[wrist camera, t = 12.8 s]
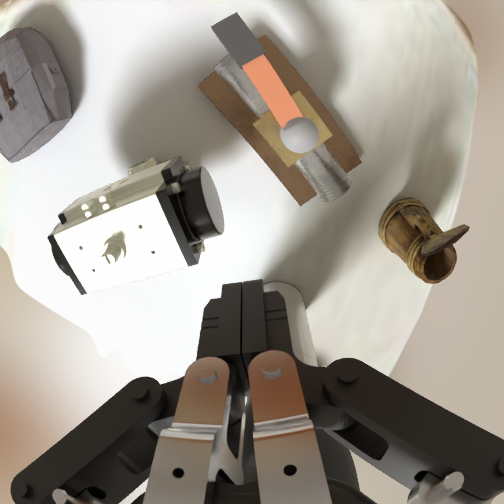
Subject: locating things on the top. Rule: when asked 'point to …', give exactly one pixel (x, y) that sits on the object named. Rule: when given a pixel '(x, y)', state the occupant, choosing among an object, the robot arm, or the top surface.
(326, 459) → the robot arm
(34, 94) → the small grey backpack
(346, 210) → the top surface
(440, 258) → the wooden mug
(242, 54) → the valve lever
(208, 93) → the stand
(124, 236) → the ball valve
